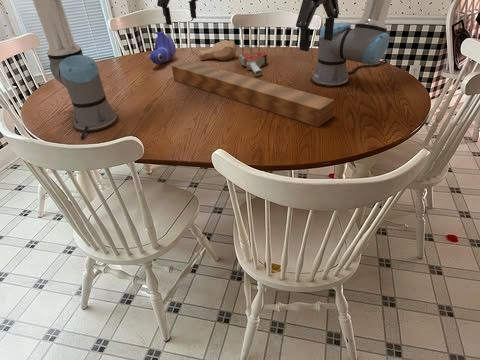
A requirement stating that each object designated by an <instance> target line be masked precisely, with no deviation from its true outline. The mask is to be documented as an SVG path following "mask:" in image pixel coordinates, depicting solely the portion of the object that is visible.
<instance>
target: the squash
mask: <svg viewBox="0 0 480 360" xmlns="http://www.w3.org/2000/svg"><path fill="white" fill-rule="evenodd" d="M237 50H238V48H237V45H236V43H235V41H233V40H227V39H224V40H221V41H219V42H216V43H214V44H213V46H212V47H210V48H209V49H204V50H203V49H202V50H199V51H198V52H199V59H200V60H201V61H204V60H209V59H216V60H218V61H229V60H231V59H233V57H235V56H236V55H237Z"/></svg>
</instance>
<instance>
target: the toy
mask: <svg viewBox="0 0 480 360" xmlns="http://www.w3.org/2000/svg"><path fill="white" fill-rule="evenodd" d="M153 34H154V35H157V36H156V38H155V42H154V50H152V51H150V53H149V56H148V58H149V60H150V61H151V62H152V63H153V64H155V65H156V68H157V69H159V67H160V64H163V63H166V62H169V61H170V60H172V59H173V58H174V57H175V55H176V51H177V49H176V44H175V42H174V40H173V38H172V37H171V36H170V35H168V36H167V35H166V34H165V33H164V32H163V31H160V32H159V31H155V32H154V33H153Z"/></svg>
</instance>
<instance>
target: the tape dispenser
mask: <svg viewBox="0 0 480 360" xmlns="http://www.w3.org/2000/svg"><path fill="white" fill-rule="evenodd" d="M253 55H256V56H253ZM267 55H268V54H267V53H266V52H265V51H258V52H252V53H245V54H242V53H241V54H240V55H239V63H240V64H242V66H243V67H246V70H247V71H252V73H253V74H254V76H255V77H258V76H261V75H262V74H263V69H262V68H261V67H262V66H265V65H267V62H268V60H267V58H268V56H267Z"/></svg>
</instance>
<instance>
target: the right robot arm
mask: <svg viewBox="0 0 480 360" xmlns="http://www.w3.org/2000/svg"><path fill="white" fill-rule="evenodd" d="M391 3H392V0H366V2H365V5H364V9H363V13H362V16H361V19H360V20H358V21H357V22H356V23H355V26H354V28H352V26H351V23H350V22H343V21H342V22H335V19H338V18H339V14H340V7H339V0H302V1H301V5H300V9H299V12H298V16H297V19H296V23H295V27H296V28H298V29H300V31H299V33H300V35H299V40H300V41H299V51H302V52H310V37H311V28H310V24H311V23H312V20H313V18H314V15H315V13H316V11H317V9H318V8H319V7H320V6H321V5H322V7H323V9H324V11H325V14H326V18H325V20H324V26H322V27H321V28H320V32H319V37H318V39H319V41H318V42H319V43H318V55H317V64H316V66H315V67H314V68H315V69H314V71H313V73H312V75H311V76H312V78H311V82H312V83H314V84H315V85H317V86H321V87H326V88H338V87H341V86H345V85H346V84H348V83H349V75H350V74H353V73H355V72H356V70H357V69H360V68H367V67H378V66H381V65H382V64H383V63H384V62H385V63H388V60H387V59H386V58H384V59H382V58H383V57H384V55H385V54H386V52H387V50H388V47H389V43H390V35H389V33H387V31H388V27H387V25H386V20H387V18H388V17H387V16H388V14H389V10H390V7H391ZM347 61H350V62H356V63H361V64H362V65H358V66H356V67H354V69H353V70H351V71H348V67H347ZM380 61H381V62H380ZM378 62H379V63H378Z"/></svg>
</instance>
